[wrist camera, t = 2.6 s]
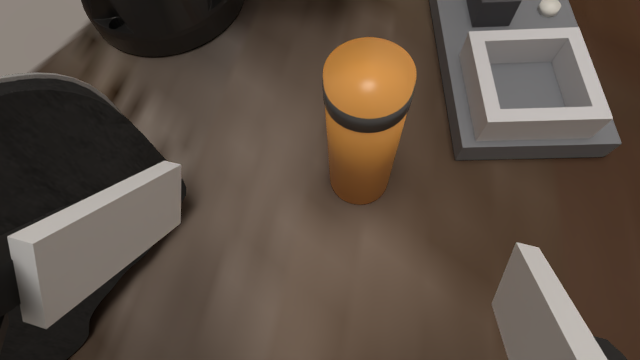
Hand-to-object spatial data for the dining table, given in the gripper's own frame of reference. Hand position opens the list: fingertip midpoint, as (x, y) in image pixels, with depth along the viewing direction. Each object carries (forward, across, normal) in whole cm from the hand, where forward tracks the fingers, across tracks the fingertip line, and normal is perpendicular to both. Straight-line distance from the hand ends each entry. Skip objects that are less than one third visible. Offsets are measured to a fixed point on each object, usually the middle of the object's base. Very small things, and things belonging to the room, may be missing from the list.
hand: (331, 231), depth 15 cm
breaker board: (+26, +8, +9) cm, 29 cm away
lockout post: (+14, 0, -3) cm, 14 cm away
